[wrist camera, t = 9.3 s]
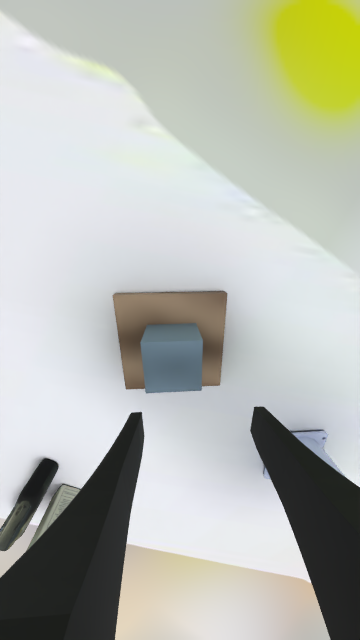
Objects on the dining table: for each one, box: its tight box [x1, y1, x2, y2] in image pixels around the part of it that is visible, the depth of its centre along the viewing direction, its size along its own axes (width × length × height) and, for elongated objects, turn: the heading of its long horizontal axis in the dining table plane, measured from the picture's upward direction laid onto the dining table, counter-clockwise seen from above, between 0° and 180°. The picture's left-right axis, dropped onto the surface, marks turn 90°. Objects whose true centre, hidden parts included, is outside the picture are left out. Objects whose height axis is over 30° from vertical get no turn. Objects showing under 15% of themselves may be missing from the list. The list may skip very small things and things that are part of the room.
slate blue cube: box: [140, 323, 203, 393], centre depth 16 cm, size 5×5×4 cm
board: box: [113, 291, 227, 389], centre depth 17 cm, size 11×11×4 cm
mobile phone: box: [0, 459, 58, 551], centre depth 24 cm, size 5×3×15 cm
